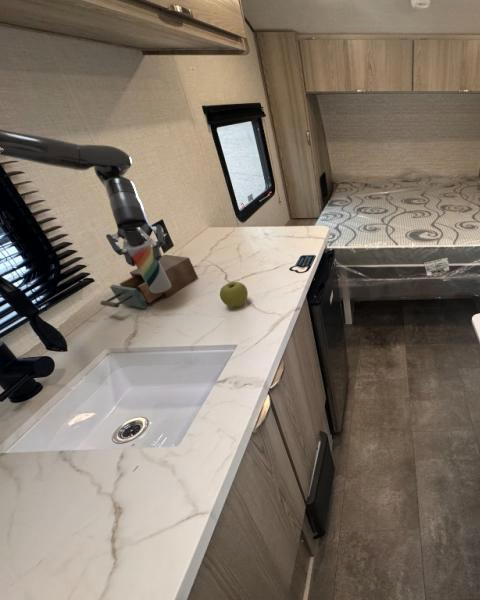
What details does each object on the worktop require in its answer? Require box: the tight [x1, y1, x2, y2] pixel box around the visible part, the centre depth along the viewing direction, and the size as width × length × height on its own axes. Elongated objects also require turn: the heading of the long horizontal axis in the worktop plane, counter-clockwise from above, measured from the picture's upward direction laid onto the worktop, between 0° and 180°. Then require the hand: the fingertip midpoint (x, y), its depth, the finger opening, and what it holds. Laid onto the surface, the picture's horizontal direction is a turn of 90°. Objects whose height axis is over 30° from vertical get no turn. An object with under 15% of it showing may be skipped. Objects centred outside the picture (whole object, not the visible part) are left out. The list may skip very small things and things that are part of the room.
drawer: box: [100, 275, 163, 309], centre depth 106 cm, size 18×10×7 cm, turn 163°
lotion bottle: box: [122, 228, 171, 293], centre depth 97 cm, size 6×6×20 cm
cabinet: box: [129, 254, 199, 299], centre depth 115 cm, size 14×12×9 cm
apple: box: [219, 281, 249, 308], centre depth 103 cm, size 8×8×7 cm
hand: (145, 262), depth 95 cm, fingers closed on lotion bottle, 5 cm apart
